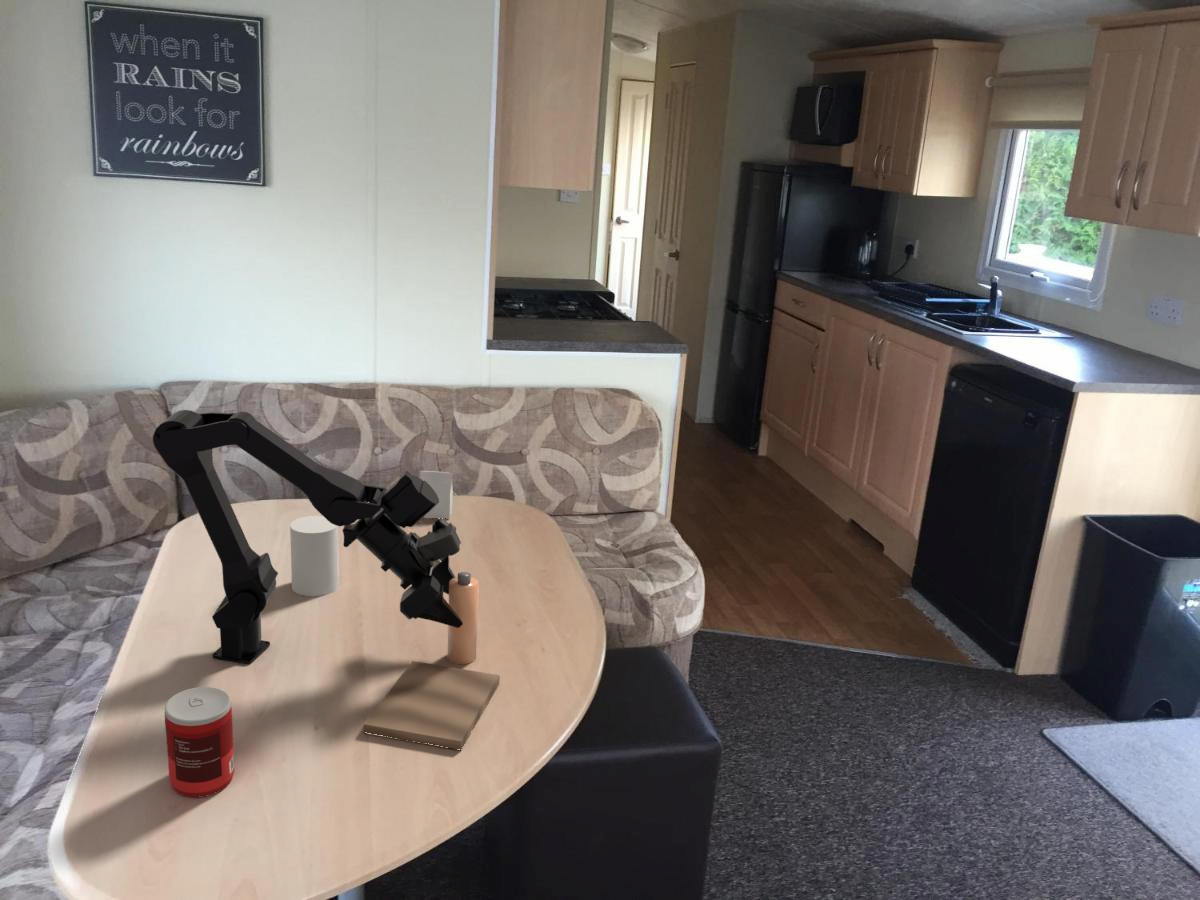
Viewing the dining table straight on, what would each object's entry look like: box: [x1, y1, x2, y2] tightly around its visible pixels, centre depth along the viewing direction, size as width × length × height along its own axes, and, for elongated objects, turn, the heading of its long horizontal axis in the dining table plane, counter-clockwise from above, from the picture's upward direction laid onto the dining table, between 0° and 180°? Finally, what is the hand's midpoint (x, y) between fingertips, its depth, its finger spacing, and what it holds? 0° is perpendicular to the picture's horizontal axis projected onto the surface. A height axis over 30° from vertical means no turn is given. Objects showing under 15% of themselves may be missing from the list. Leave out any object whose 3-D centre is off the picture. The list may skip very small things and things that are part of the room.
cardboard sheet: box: [363, 660, 501, 751], centre depth 144 cm, size 18×14×2 cm
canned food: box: [164, 686, 235, 798], centre depth 124 cm, size 8×8×11 cm
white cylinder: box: [289, 515, 340, 597], centre depth 177 cm, size 8×8×12 cm
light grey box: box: [419, 470, 454, 520], centre depth 214 cm, size 4×7×10 cm, turn 90°
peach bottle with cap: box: [446, 571, 480, 665], centre depth 156 cm, size 5×5×14 cm
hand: (462, 611), depth 156 cm, fingers open, 9 cm apart
